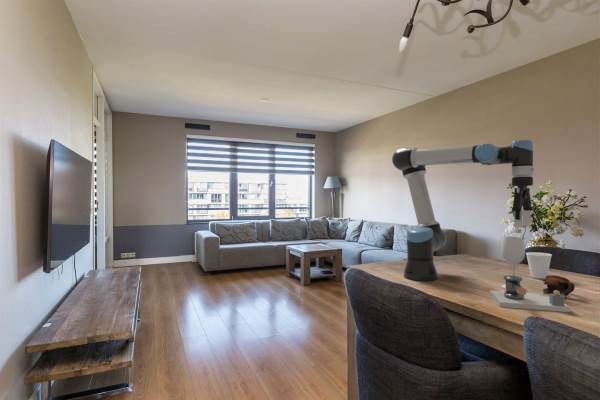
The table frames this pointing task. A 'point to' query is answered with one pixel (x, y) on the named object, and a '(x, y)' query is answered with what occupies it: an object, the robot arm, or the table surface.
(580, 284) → the table surface
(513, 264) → the wineglass
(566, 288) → the brown animal figurine
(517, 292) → the capstan
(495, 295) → the level board
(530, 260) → the cup
